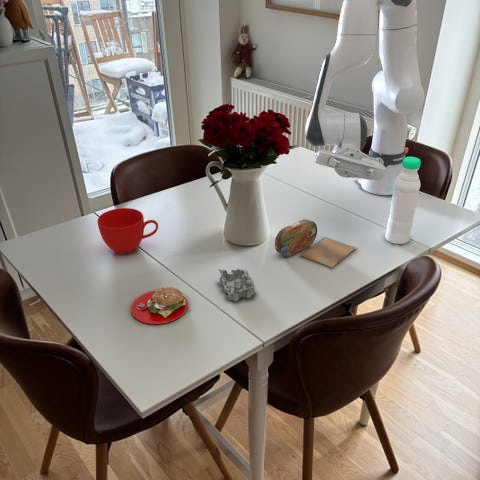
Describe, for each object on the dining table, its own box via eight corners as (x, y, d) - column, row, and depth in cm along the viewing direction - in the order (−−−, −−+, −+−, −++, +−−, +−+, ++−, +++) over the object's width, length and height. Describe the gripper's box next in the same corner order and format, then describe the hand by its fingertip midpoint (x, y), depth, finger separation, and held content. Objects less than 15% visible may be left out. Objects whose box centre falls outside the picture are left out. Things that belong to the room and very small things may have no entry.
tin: (280, 260, 142) (281, 234, 137) (272, 256, 144) (273, 230, 139) (317, 243, 150) (319, 218, 145) (309, 239, 152) (311, 214, 147)
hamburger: (161, 284, 133) (159, 265, 129) (199, 304, 125) (198, 285, 122) (119, 309, 124) (115, 289, 120) (157, 332, 116) (154, 312, 113)
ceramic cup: (159, 258, 144) (155, 227, 138) (99, 260, 143) (93, 229, 137) (162, 236, 154) (158, 206, 149) (106, 238, 154) (101, 208, 148)
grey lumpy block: (217, 280, 134) (217, 267, 132) (244, 276, 136) (244, 263, 133) (228, 303, 125) (227, 289, 123) (256, 298, 127) (256, 284, 125)
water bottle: (407, 234, 154) (422, 154, 139) (411, 245, 148) (428, 163, 134) (383, 233, 154) (396, 153, 140) (386, 244, 148) (401, 163, 134)
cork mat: (325, 238, 152) (325, 237, 152) (355, 249, 146) (355, 248, 146) (301, 256, 144) (301, 255, 143) (331, 268, 138) (331, 266, 138)
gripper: (317, 142, 149) (320, 147, 136) (383, 160, 149) (392, 167, 136) (311, 163, 151) (313, 170, 138) (376, 181, 151) (384, 189, 139)
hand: (353, 168), depth 137 cm, fingers open, 8 cm apart
